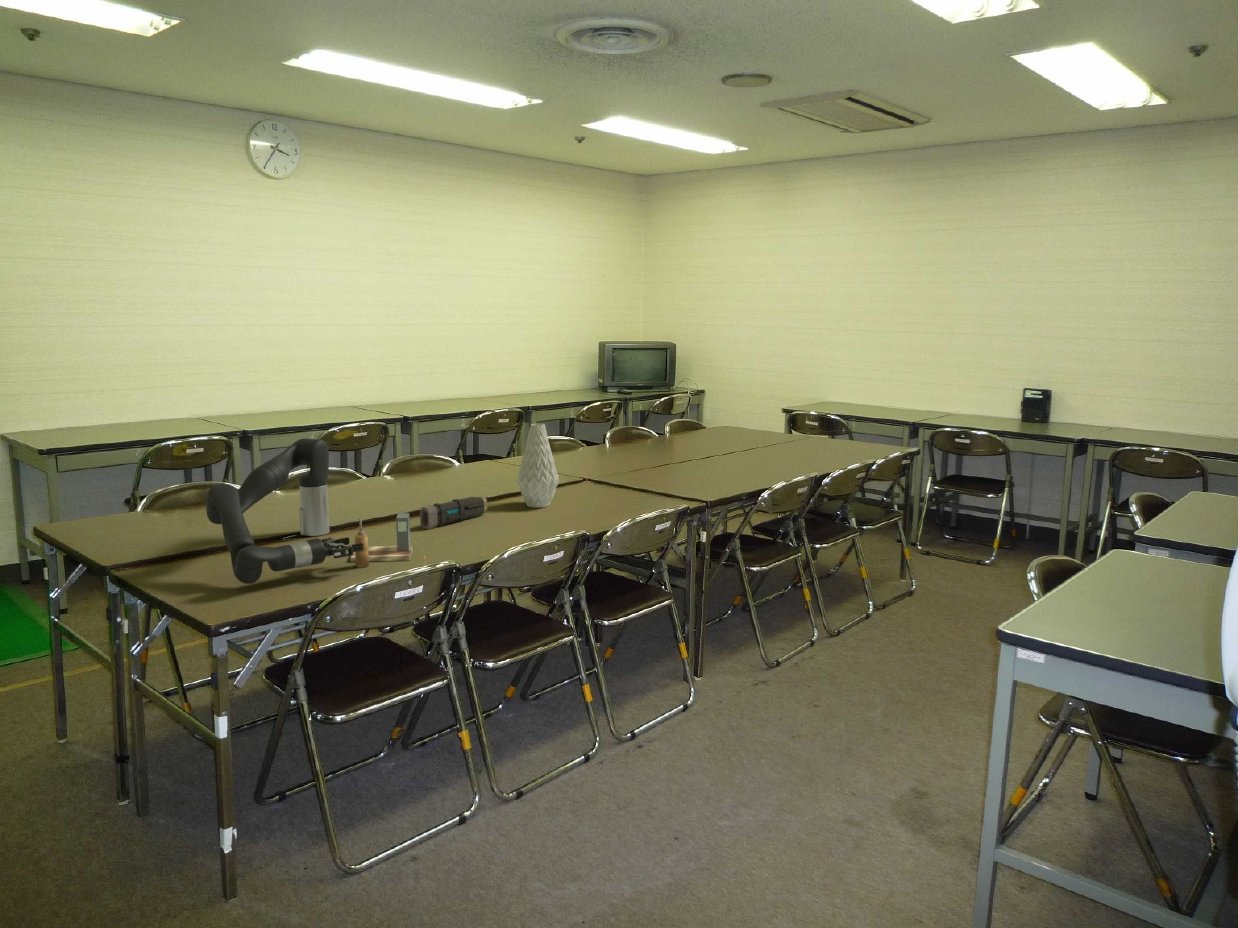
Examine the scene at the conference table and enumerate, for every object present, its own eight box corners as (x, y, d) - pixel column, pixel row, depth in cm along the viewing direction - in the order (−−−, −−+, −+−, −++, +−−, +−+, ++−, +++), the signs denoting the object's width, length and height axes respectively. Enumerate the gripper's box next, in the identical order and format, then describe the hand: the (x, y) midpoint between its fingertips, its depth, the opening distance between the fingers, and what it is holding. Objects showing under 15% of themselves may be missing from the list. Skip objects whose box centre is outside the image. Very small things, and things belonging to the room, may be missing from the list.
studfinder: (397, 551, 286) (396, 518, 284) (399, 545, 292) (398, 513, 290) (408, 551, 286) (407, 517, 284) (410, 545, 293) (409, 513, 291)
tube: (492, 523, 340) (431, 529, 316) (479, 525, 344) (418, 530, 320) (489, 495, 341) (428, 498, 317) (477, 496, 345) (416, 500, 321)
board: (350, 562, 279) (350, 557, 279) (356, 551, 291) (356, 546, 290) (409, 560, 282) (409, 555, 281) (412, 549, 293) (412, 545, 293)
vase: (565, 507, 354) (565, 426, 348) (525, 511, 347) (525, 428, 341) (550, 499, 369) (550, 420, 363) (512, 502, 362) (511, 422, 356)
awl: (355, 567, 273) (353, 520, 270) (356, 564, 277) (354, 517, 274) (367, 567, 274) (366, 520, 271) (369, 563, 277) (367, 517, 275)
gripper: (315, 546, 256) (367, 536, 267) (293, 536, 265) (343, 527, 277) (317, 571, 257) (368, 560, 268) (294, 560, 267) (344, 550, 278)
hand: (355, 543), depth 272 cm, fingers open, 8 cm apart
